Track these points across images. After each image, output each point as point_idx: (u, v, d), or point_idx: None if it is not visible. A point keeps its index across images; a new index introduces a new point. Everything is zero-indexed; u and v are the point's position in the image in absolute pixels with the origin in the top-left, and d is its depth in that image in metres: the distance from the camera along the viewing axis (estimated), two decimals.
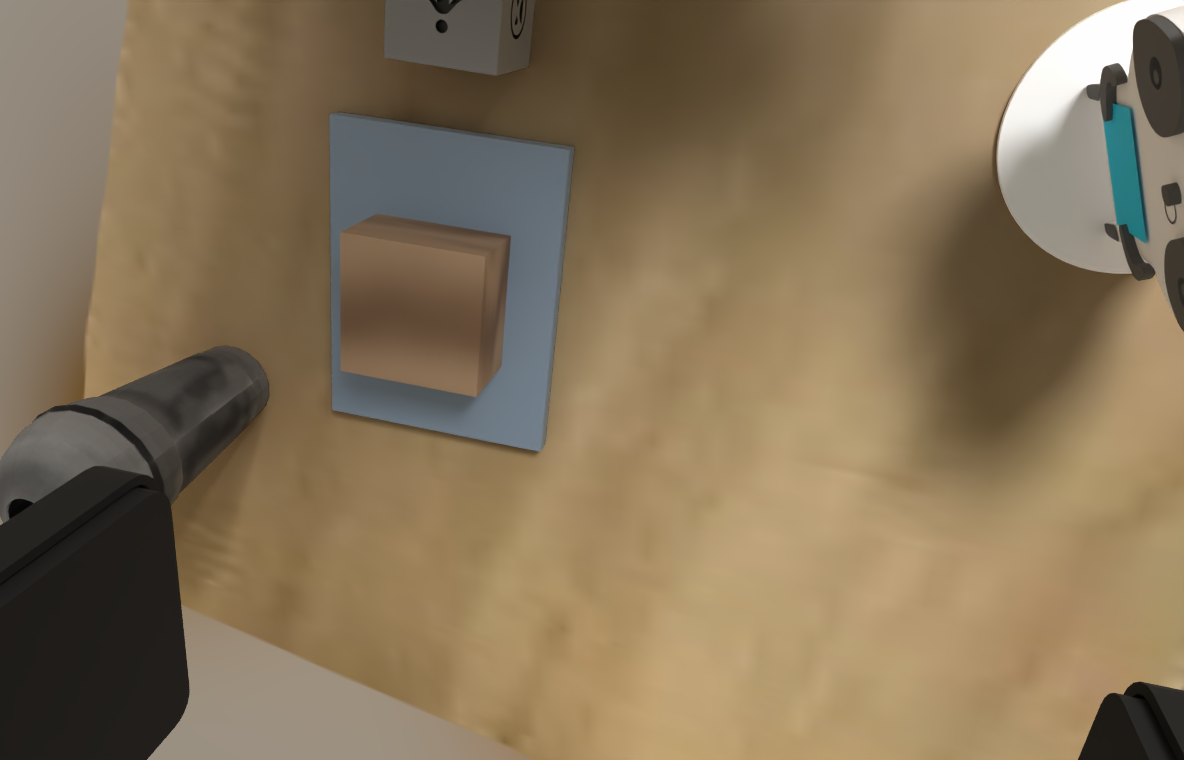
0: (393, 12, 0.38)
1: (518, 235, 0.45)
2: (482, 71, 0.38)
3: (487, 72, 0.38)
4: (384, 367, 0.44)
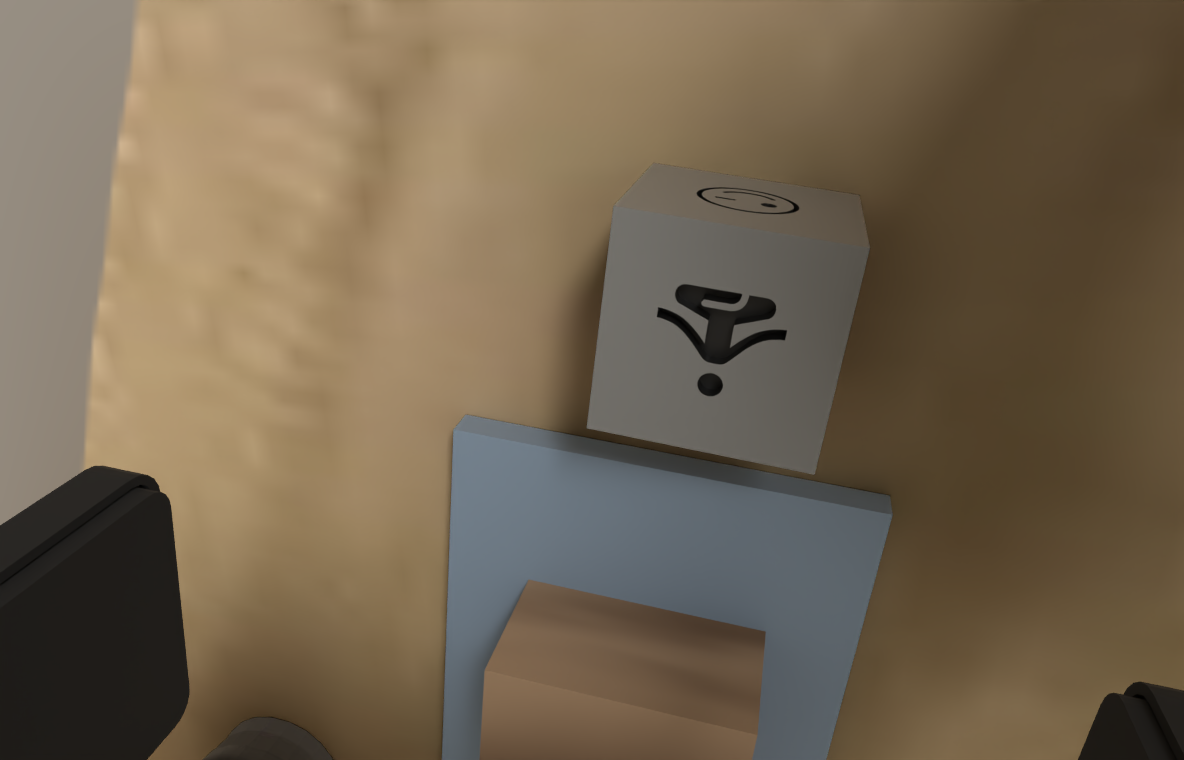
0: (612, 355, 0.19)
1: (779, 632, 0.26)
2: (786, 465, 0.19)
3: (796, 468, 0.19)
4: None
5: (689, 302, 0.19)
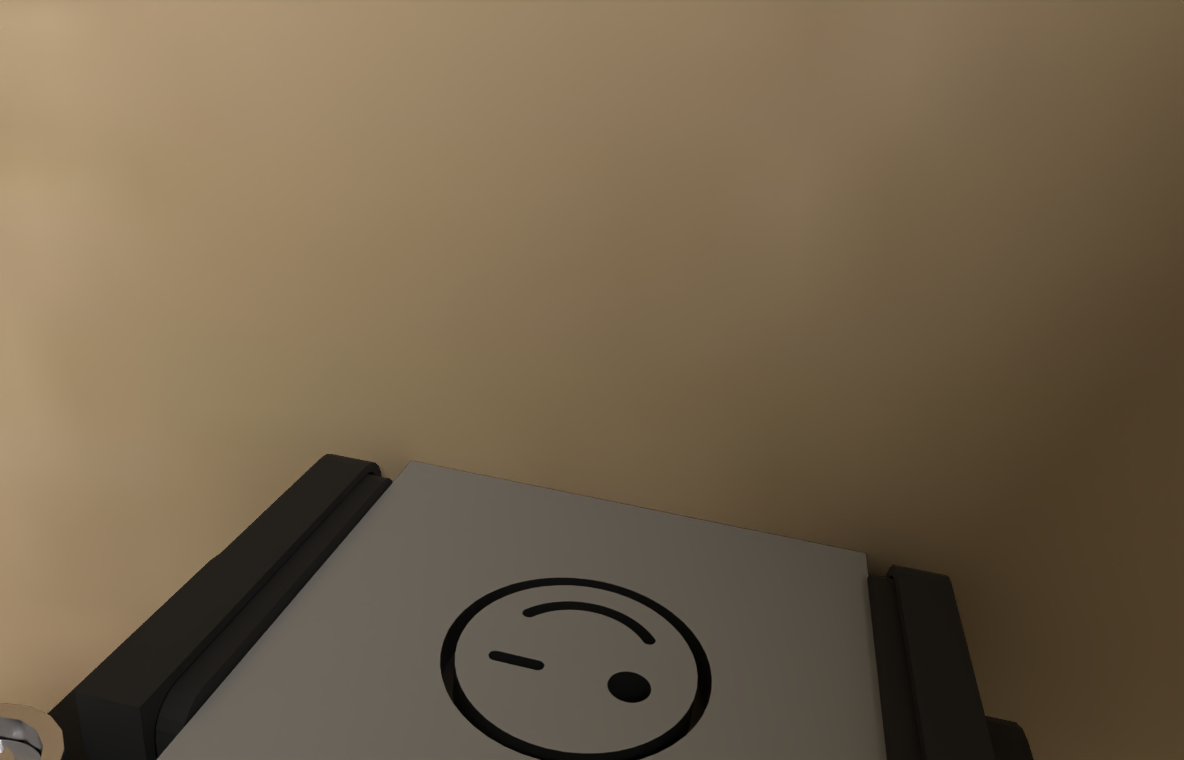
0: None
1: None
2: None
3: None
4: None
5: None
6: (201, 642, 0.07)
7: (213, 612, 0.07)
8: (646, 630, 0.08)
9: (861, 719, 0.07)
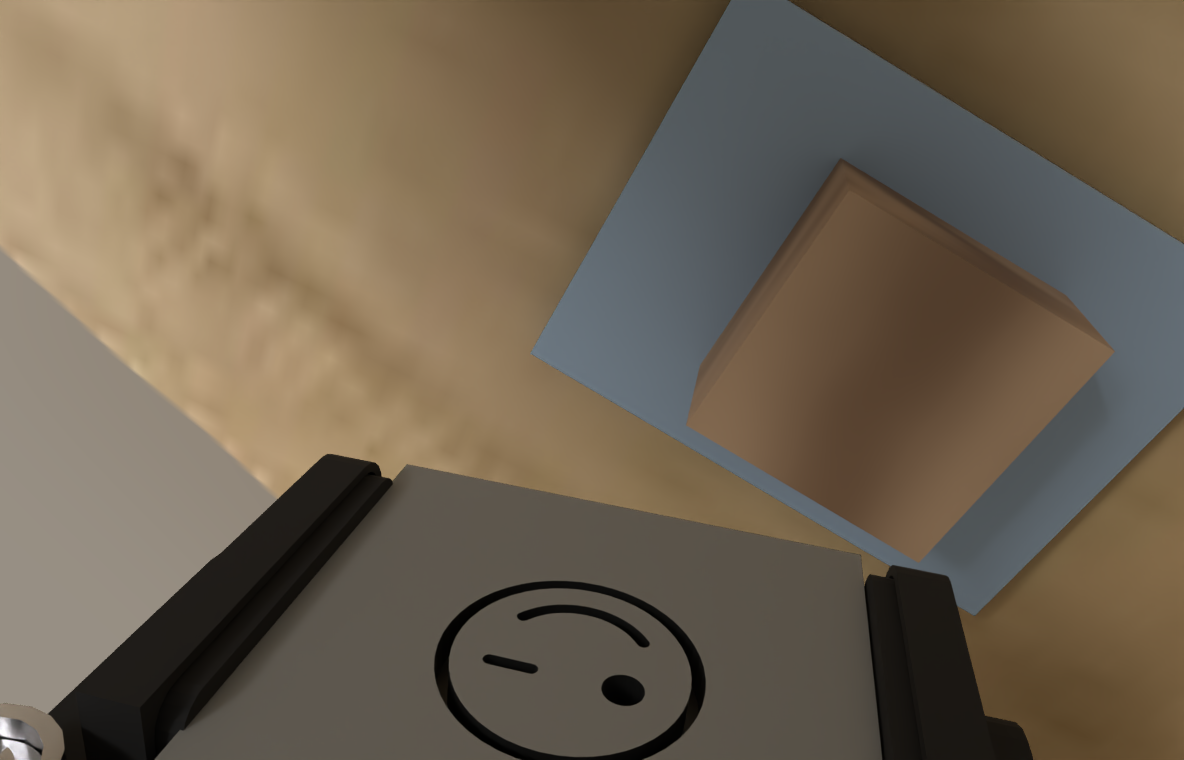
0: None
1: (847, 143, 0.24)
2: None
3: None
4: (955, 487, 0.23)
5: None
6: (201, 642, 0.07)
7: (213, 612, 0.07)
8: (640, 633, 0.08)
9: (855, 721, 0.07)
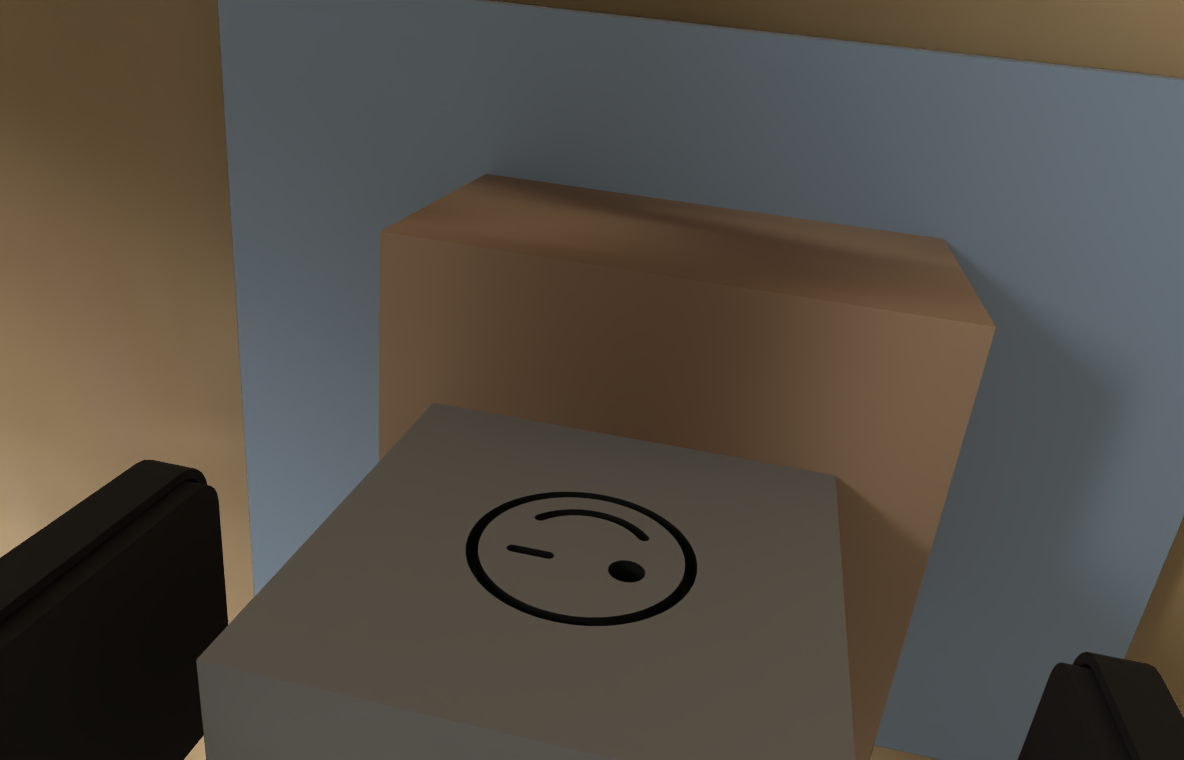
0: None
1: (483, 148, 0.14)
2: None
3: None
4: None
5: None
6: None
7: None
8: (641, 531, 0.09)
9: (824, 596, 0.09)
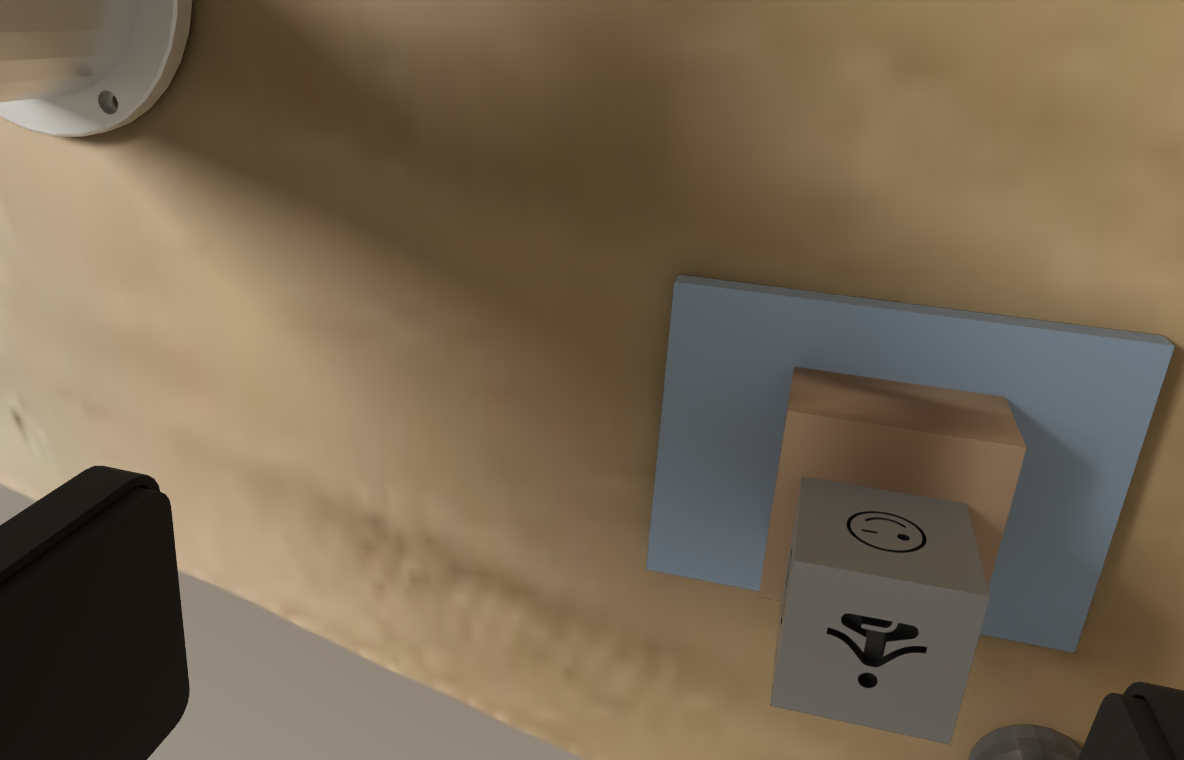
0: (791, 657, 0.26)
1: (793, 355, 0.32)
2: (927, 737, 0.26)
3: (935, 739, 0.26)
4: None
5: (850, 621, 0.25)
6: None
7: None
8: (902, 524, 0.27)
9: (970, 544, 0.26)
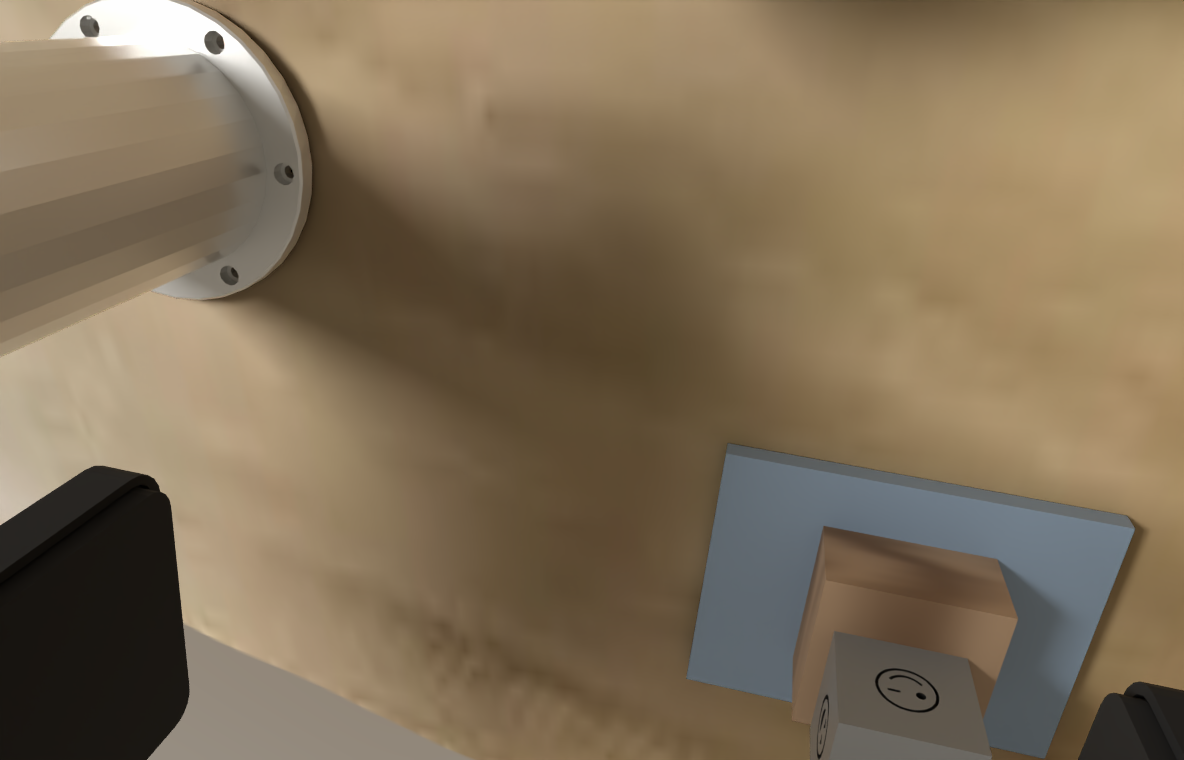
0: None
1: (824, 517, 0.38)
2: None
3: None
4: None
5: None
6: None
7: None
8: (919, 682, 0.33)
9: (973, 702, 0.33)
